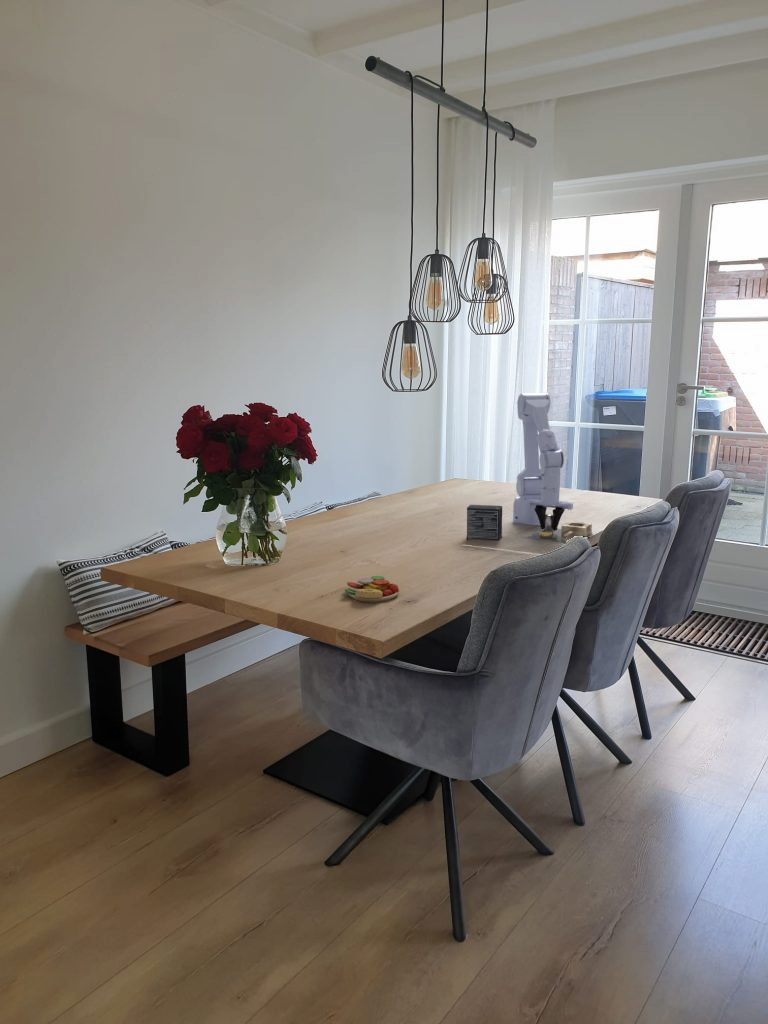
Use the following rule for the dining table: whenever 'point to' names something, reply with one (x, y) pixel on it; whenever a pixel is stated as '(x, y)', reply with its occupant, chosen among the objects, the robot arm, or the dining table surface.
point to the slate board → (555, 537)
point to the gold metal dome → (545, 534)
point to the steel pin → (548, 522)
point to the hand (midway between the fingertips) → (548, 529)
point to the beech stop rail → (567, 536)
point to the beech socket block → (577, 528)
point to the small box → (484, 522)
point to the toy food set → (372, 589)
